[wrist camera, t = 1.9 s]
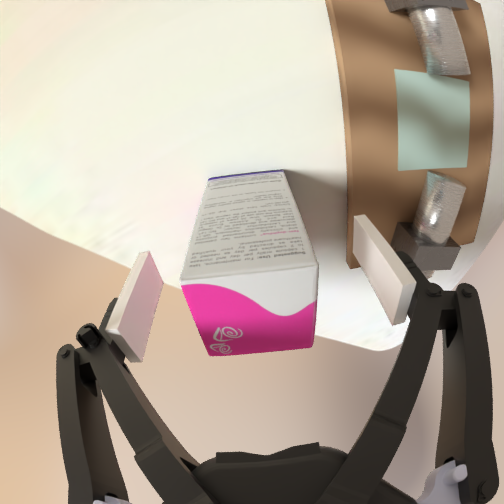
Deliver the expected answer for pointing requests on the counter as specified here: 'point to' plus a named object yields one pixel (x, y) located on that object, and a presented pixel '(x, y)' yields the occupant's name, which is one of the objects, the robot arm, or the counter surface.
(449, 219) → the shaft
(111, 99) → the counter surface
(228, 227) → the supplement box
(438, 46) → the grey collared shaft
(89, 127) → the counter surface
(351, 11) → the board
